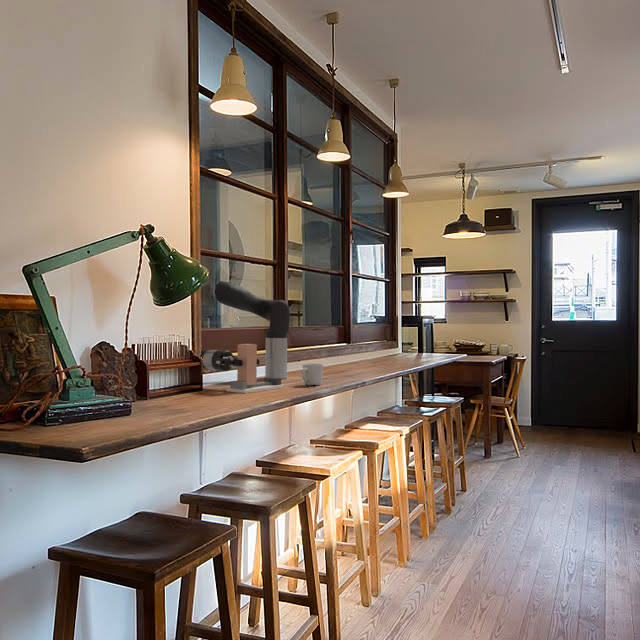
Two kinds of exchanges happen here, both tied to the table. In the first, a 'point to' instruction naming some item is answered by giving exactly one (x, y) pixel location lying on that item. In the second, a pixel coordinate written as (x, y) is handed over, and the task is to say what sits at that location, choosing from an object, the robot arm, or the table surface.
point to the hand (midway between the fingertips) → (250, 362)
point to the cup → (312, 374)
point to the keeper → (247, 363)
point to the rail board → (256, 385)
